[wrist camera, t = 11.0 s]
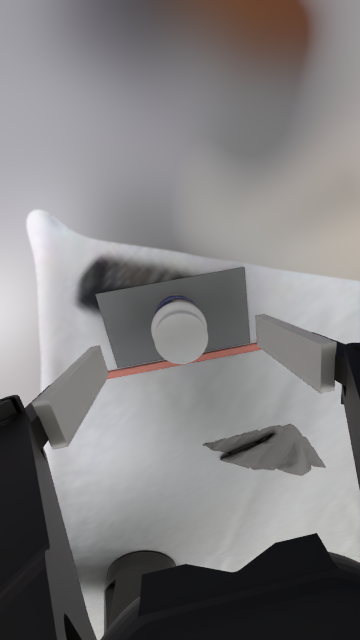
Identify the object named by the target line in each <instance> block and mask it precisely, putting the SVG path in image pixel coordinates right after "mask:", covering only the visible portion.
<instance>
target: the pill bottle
mask: <svg viewBox="0 0 360 640" xmlns="http://www.w3.org/2000/svg"><path fill="white" fill-rule="evenodd" d="M151 333H152V337H153V340H154V343H155V347H156V349H157V351H158V353H159V354H160V355H161V356H162V357H163V358H164V359H165V360H167V361H169V362H171V363H175V364H186V363H190V362H193V361H195V360H196V359H198V358H199V357H200V356H201V355H202V354H203V353H204V351H205V349H206V347H207V344H208V333H207V323H206V320H205V317H204V315H203V314H202V312H201V311H200V310H199V308H198V307H197V306H196V305H195V303H194V302H193V301H192V300H191V299H190V298H188V297H186V296H184V295H180V294H173V295H169V296H167V297H165V298H164V299H163V300H162V301H161V302H160V303H159V304H158V306H157V309H156V312H155V314H154V317H153V320H152V325H151Z"/></svg>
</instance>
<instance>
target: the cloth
mask: <svg viewBox="0 0 360 640" xmlns="http://www.w3.org/2000/svg"><path fill="white" fill-rule="evenodd" d="M267 437H268V438H267ZM264 438H267V439H266V440H265V441H264V442H263V443H261V444H258V445H254V446H251V447H248V448H246V449H244V450H242V451H240V452H238V453H236V454H233V455H231V456H227V457H225V458H223V459H222V458H220V460H222V461H224V462H229V463H233V464H237V465H240V466H243V467H246V468H251V469H255V470H256V469H268V470H275V469H276V468H277V469H279V470H282V471H284V472H287V473H291V474H295V475H304V474H306V473H307V472H309V471H310V470H311V465H312V466H315V467H324V468H326V467H325V465H324V464H323V462H322V460H321V459H320V458H319V456H318V454H317V453H316V451H315V450H314V448H313V447H312V446H311V445H310V443H309V441H308V439H307V438H306V437H303V436H302V434H301V433H300V432H299V430H298V429H297V428H296V427H295V426H294V425H291V424H288V425H286V426H280V425H279V426H272V427H269V428H265V429H262V430H260V431H258V430H255V431H251V432H248V433H243V434H241V435H236V436H233V437H231V438H228V439H225V438H224V439H221V440H218V441H215V442H213V443H207V444H204V445H203V446H205V445H206V446H207V447H208V448H210V449H211V450H214V451H221V452H225V453H228V454H230V453H232V452H234V451H236V450H237V449H240V448H242V447H244V446H247V445H249V444H252V443H259V442H260V441H262V440H263V439H264Z"/></svg>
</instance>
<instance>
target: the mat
mask: <svg viewBox="0 0 360 640" xmlns="http://www.w3.org/2000/svg"><path fill="white" fill-rule="evenodd" d="M173 294H180V295H184V296H186V297H188V298H190V299H191V300H192V301H193V302H194V303H195V305H196V306H197V307H198V308H199V310H200V311H201V312H202V314H203V315H204V317H205V320H206V323H207V333H208V344H207V347H206V349H205V351H210V350H215V349H220V348H225V347H230V346H236V345H241V344H246V343H250V334H249V320H248V307H247V293H246V280H245V267H242V268H236V269H231V270H225V271H220V272H214V273H209V274H203V275H198V276H192V277H187V278H181V279H176V280H170V281H165V282H159V283H154V284H148V285H143V286H137V287H132V288H126V289H121V290H115V291H110V292H104V293H99V294H95V295H96V298H97V301H98V305H99V308H100V311H101V314H102V318H103V321H104V324H105V328H106V331H107V334H108V338H109V341H110V344H111V348H112V351H113V354H114V358H115V361H116V364H117V368H121V367H126V366H131V365H137V364H142V363H147V362H152V361H157V360H163V359H164V358H163V357H162V356H161V355H160V354H159V353H158V351H157V349H156V347H155V343H154V340H153V337H152V333H151V325H152V320H153V317H154V314H155V312H156V309H157V306H158V304H159V303H160V302H161V301H162V300H163V299H164V298H165V297H167V296H169V295H173Z"/></svg>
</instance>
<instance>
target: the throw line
mask: <svg viewBox="0 0 360 640" xmlns="http://www.w3.org/2000/svg"><path fill="white" fill-rule="evenodd" d="M256 350H261V348H260V347H258V346H257V343H254V344H249V345H244V346H238V347H233V348H228V349H223V350H217V351H212V352H207V353H203V354H202V355H201V356H200V357H199V358H198V359H196V360H195V361H193V362H199V361H204V360H209V359H214V358H219V357H224V356H230V355H235V354H240V353H245V352H250V351H256ZM193 362H190V363H193ZM186 364H188V363H186ZM178 365H183V364H175V363H171V362H169V361H167V360H165V361H160V362H155V363H150V364H145V365H139V366H134V367H129V368H124V369H119V370H113V371H108V373H109V376H108V378H107V379H110V378H116V377H121V376H126V375H131V374H136V373H142V372H147V371H152V370H157V369H162V368H167V367H173V366H178Z"/></svg>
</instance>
